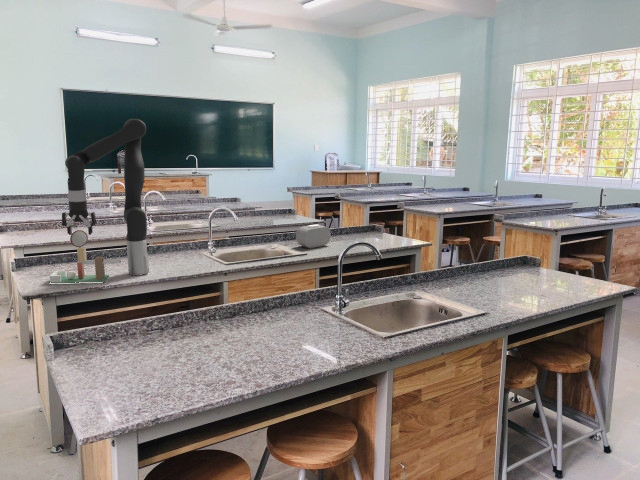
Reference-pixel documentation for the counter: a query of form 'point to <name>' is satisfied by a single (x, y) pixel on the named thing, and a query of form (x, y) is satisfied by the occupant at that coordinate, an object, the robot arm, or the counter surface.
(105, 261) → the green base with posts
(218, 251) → the counter surface
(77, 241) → the magnifying glass
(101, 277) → the pitch
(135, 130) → the robot arm
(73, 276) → the ball
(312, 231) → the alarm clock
